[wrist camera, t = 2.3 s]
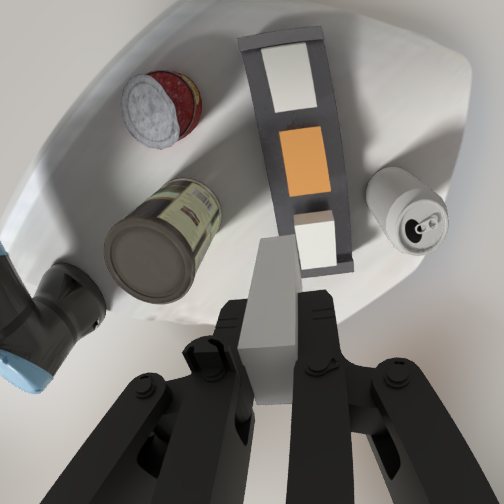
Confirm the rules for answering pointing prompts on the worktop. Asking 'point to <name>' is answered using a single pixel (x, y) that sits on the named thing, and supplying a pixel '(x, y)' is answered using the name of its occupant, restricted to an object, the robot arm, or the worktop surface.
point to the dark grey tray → (300, 119)
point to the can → (407, 211)
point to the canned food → (160, 107)
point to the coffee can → (163, 241)
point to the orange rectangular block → (305, 161)
